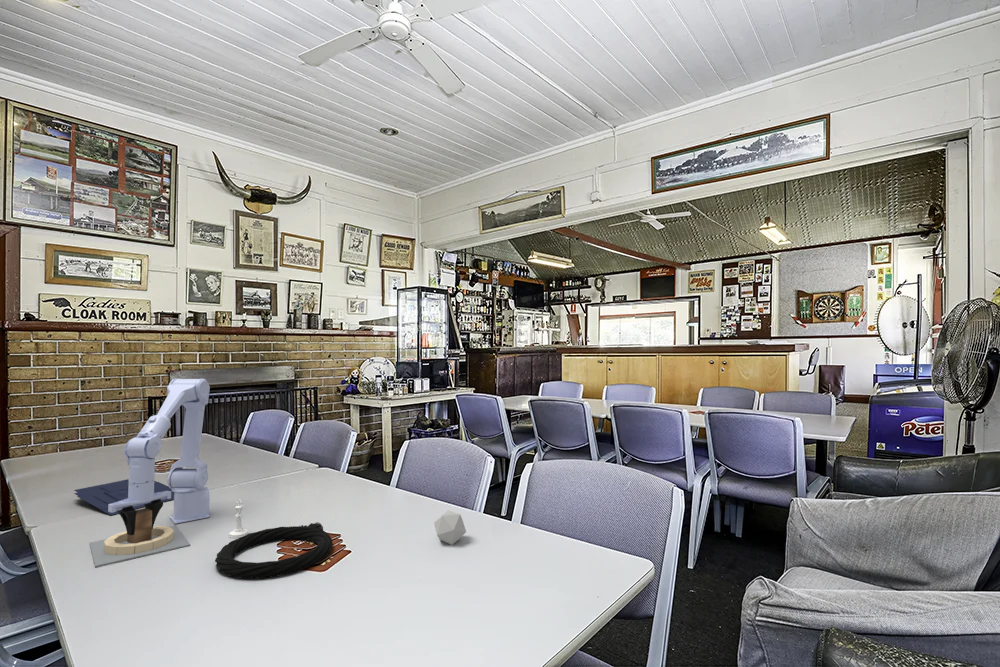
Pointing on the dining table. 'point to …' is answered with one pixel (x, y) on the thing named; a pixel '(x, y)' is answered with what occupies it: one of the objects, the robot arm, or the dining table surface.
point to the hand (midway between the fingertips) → (140, 531)
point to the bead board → (120, 558)
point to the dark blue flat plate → (114, 494)
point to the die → (450, 527)
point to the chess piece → (238, 523)
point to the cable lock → (274, 567)
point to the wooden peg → (142, 527)
